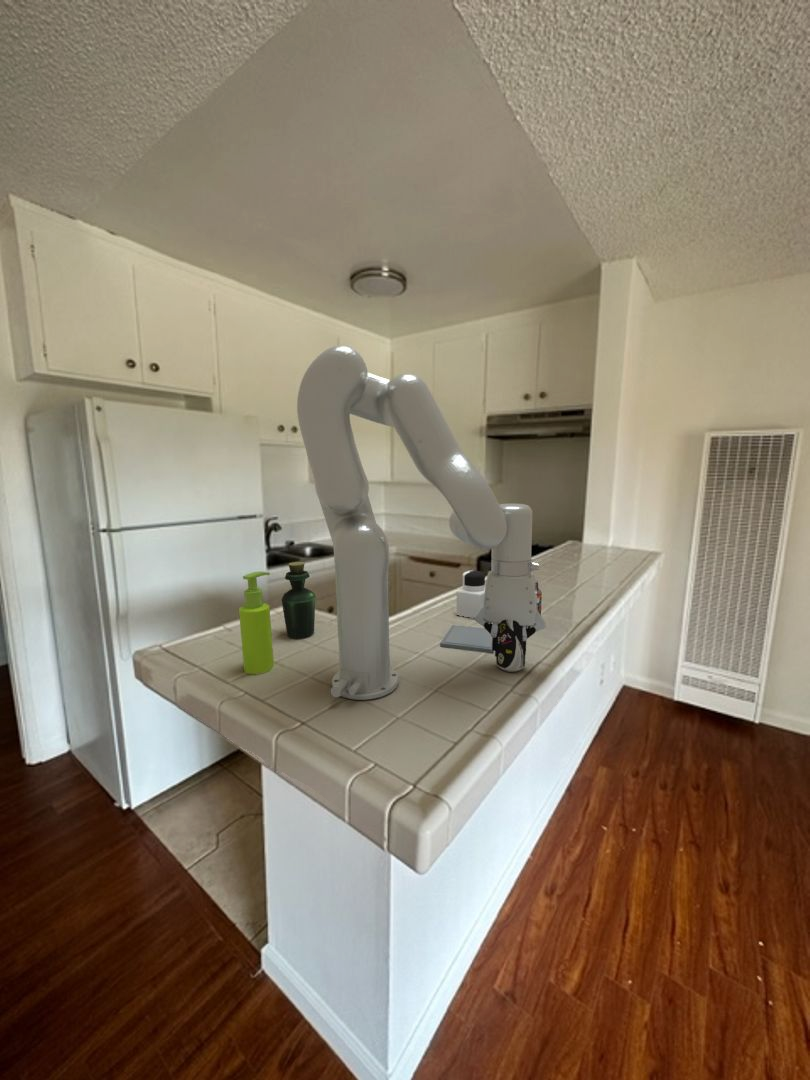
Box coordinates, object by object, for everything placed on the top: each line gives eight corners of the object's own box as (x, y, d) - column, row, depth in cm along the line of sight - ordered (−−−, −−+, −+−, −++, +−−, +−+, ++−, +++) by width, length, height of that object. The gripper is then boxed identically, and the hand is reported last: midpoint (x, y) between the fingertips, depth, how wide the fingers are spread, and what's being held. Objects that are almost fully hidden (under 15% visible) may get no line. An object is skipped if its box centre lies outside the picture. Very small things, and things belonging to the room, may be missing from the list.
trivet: (493, 653, 96) (493, 649, 96) (440, 646, 100) (440, 642, 100) (500, 633, 107) (500, 629, 107) (452, 628, 111) (452, 624, 111)
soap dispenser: (283, 663, 93) (277, 571, 90) (257, 676, 87) (249, 579, 84) (264, 657, 96) (257, 568, 93) (237, 670, 90) (229, 575, 87)
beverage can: (490, 667, 89) (490, 610, 87) (507, 658, 93) (508, 604, 91) (513, 676, 85) (514, 617, 83) (530, 667, 89) (532, 610, 87)
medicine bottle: (490, 612, 122) (491, 570, 120) (480, 620, 116) (481, 576, 114) (466, 608, 126) (467, 567, 124) (456, 615, 120) (456, 573, 118)
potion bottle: (278, 634, 109) (273, 563, 106) (307, 625, 115) (303, 558, 112) (293, 643, 103) (288, 569, 100) (323, 634, 109) (319, 563, 106)
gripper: (556, 565, 86) (552, 653, 89) (472, 560, 92) (471, 643, 95) (555, 574, 79) (551, 669, 82) (464, 569, 85) (464, 658, 88)
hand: (508, 654), depth 89 cm, fingers open, 3 cm apart
